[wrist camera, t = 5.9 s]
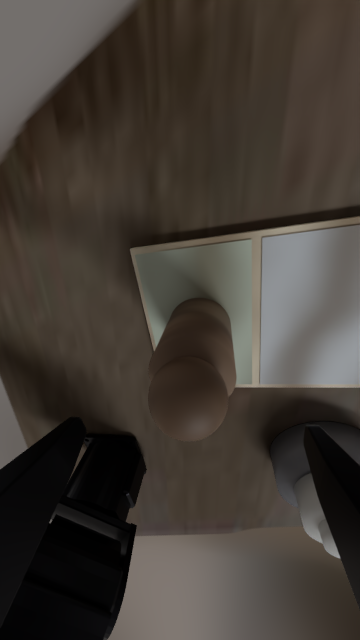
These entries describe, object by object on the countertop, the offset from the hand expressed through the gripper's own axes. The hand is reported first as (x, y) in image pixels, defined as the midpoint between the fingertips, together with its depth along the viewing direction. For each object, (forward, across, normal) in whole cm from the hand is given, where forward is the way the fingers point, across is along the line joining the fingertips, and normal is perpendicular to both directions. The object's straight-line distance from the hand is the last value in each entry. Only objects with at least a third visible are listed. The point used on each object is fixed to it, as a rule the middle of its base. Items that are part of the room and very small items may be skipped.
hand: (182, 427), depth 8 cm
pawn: (+8, 0, 0) cm, 8 cm away
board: (+9, -8, 0) cm, 12 cm away
